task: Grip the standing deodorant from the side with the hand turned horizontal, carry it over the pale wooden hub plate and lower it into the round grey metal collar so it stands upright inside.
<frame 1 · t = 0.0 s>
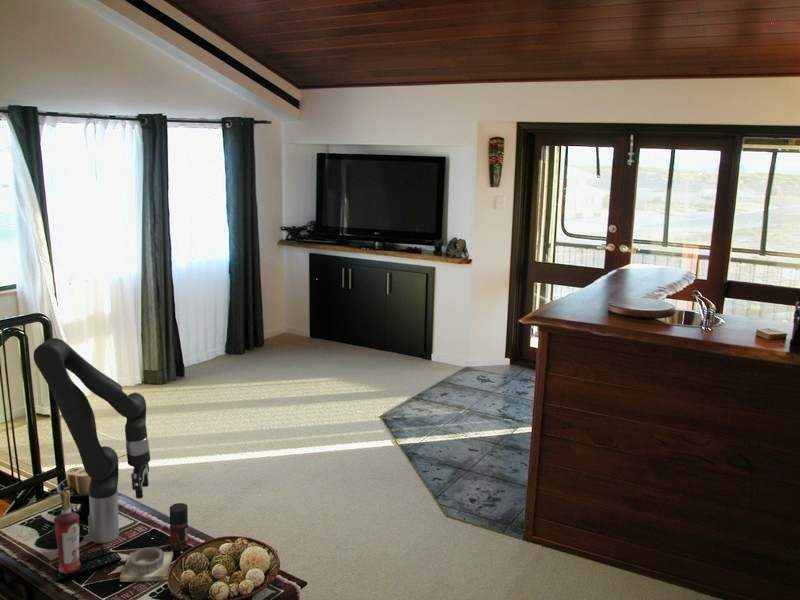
hand: (142, 492, 246), 17 cm above the table, tool pointing down, fingers open, 8 cm apart
liquor: (69, 570, 228), on the table
hub: (147, 568, 231), on the table
deodorant: (179, 546, 245), on the table
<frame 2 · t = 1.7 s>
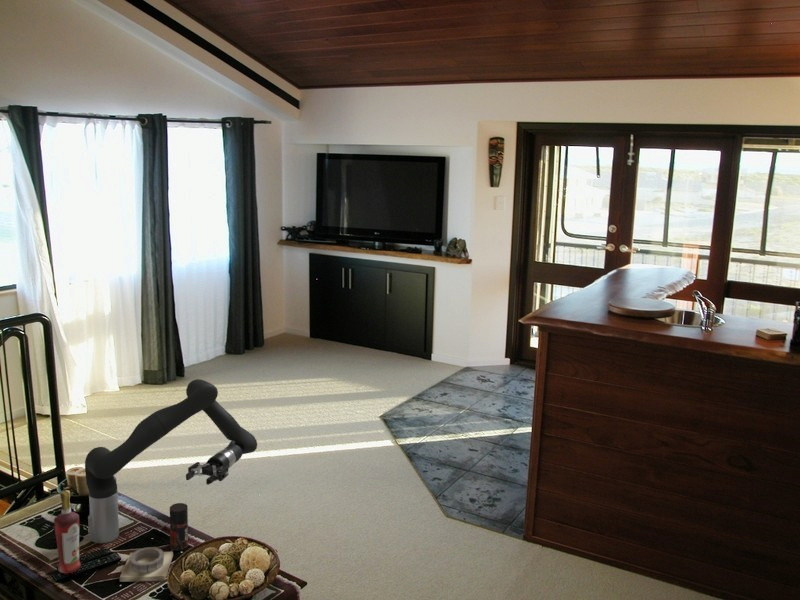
hand: (197, 480, 251), 20 cm above the table, tool horizontal, fingers open, 8 cm apart
nothing on the table moved.
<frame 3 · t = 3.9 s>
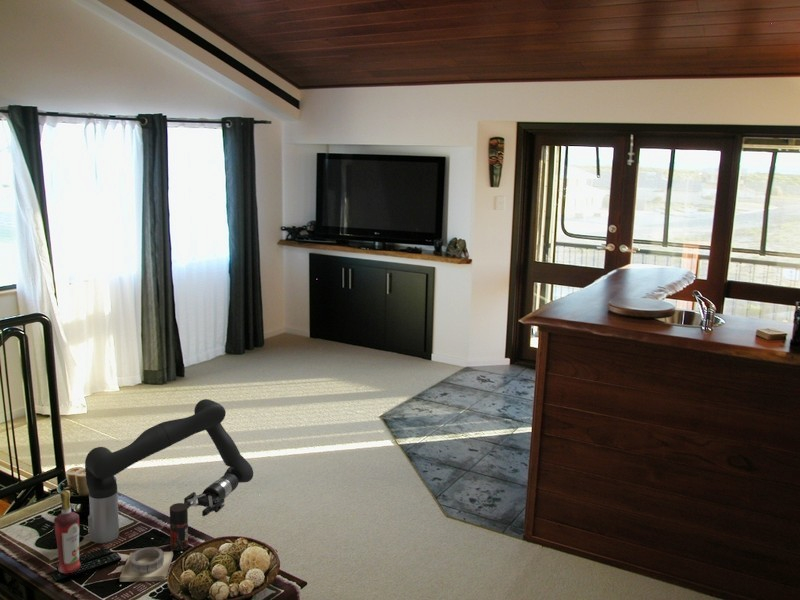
hand: (192, 511, 251), 9 cm above the table, tool horizontal, fingers open, 8 cm apart
nothing on the table moved.
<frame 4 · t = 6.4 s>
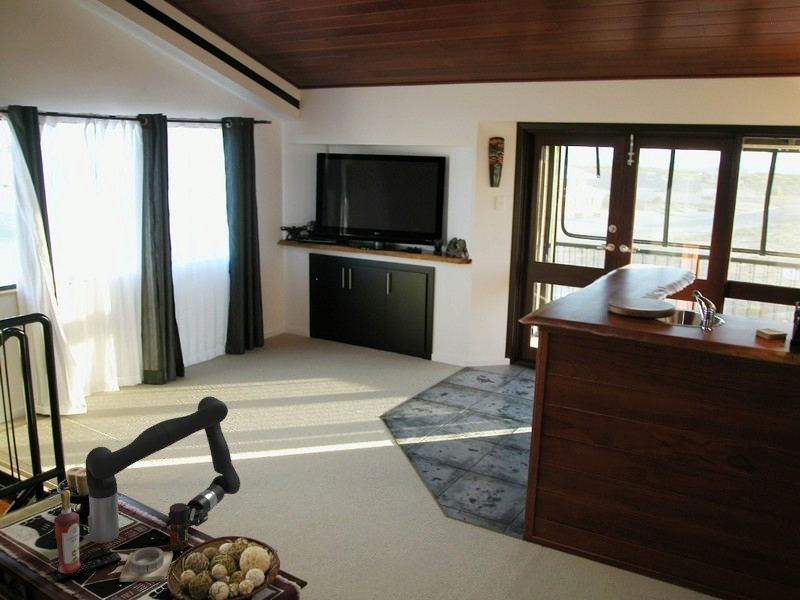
hand: (174, 526, 241), 9 cm above the table, tool horizontal, fingers closed on deodorant, 6 cm apart
deodorant: (179, 546, 245), on the table, touching gripper
everything else where it was.
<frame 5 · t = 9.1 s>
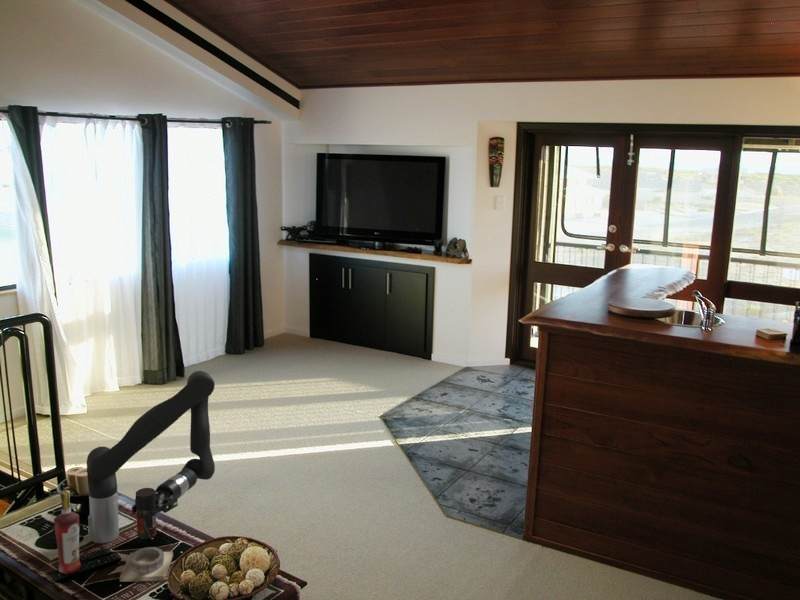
hand: (141, 512, 225), 22 cm above the table, tool horizontal, fingers closed on deodorant, 6 cm apart
deodorant: (146, 534, 229), point 12 cm above the table, touching gripper
everything else where it was.
when the fingers open (11 cm above the table, at t = 12.1 s): deodorant stays where it is, resting on hub.
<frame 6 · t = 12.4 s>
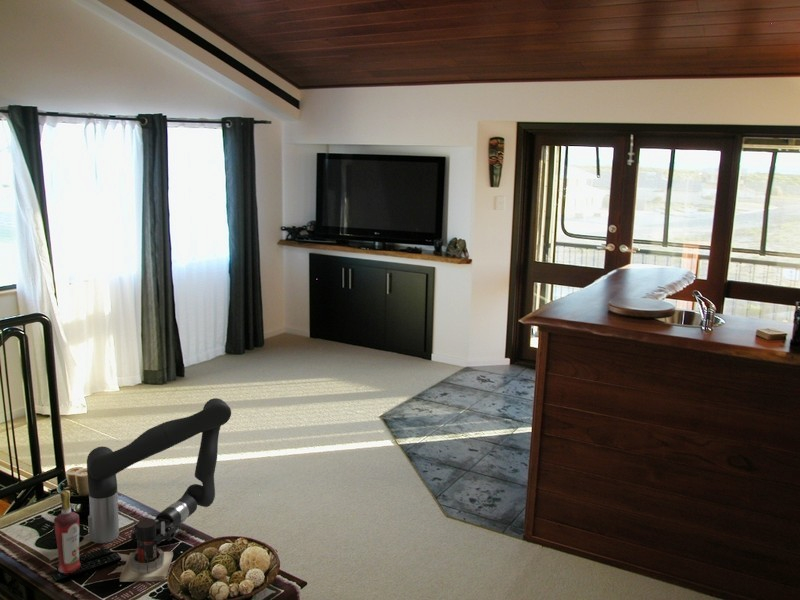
hand: (142, 540, 227), 12 cm above the table, tool horizontal, fingers open, 8 cm apart
deodorant: (147, 564, 231), point 1 cm above the table, touching hub
everything else where it was.
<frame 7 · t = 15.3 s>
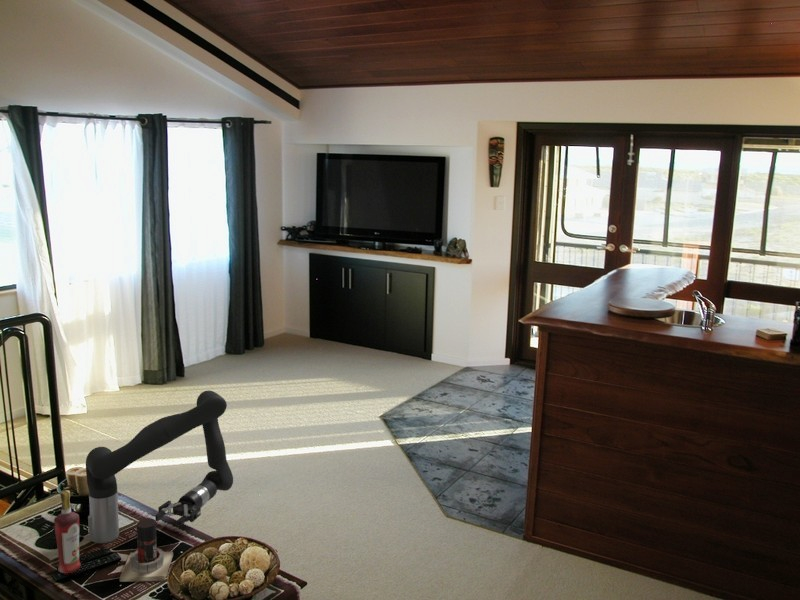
hand: (166, 521, 239), 11 cm above the table, tool horizontal, fingers open, 8 cm apart
nothing on the table moved.
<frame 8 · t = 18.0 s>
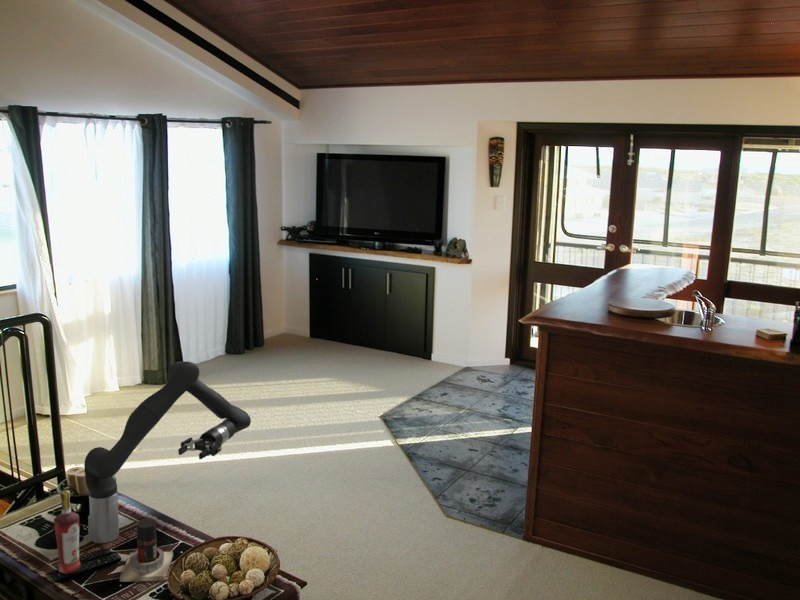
hand: (189, 454, 249), 30 cm above the table, tool horizontal, fingers open, 8 cm apart
nothing on the table moved.
at the end: deodorant 0.1 cm off-centre on the hub, point 1.4 cm above the hub's base; deodorant tilted 0°; the gripper is holding nothing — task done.
